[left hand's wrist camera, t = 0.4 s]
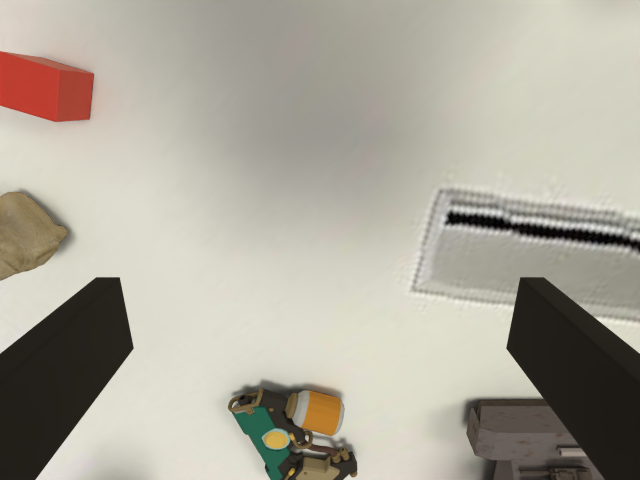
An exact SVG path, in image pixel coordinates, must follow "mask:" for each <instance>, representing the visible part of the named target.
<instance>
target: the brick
mask: <svg viewBox="0 0 640 480" xmlns="http://www.w3.org/2000/svg"><path fill="white" fill-rule="evenodd" d="M93 75H94V74H93V73H90V72H86V71H83V70H80V69H77V68H73V67H70V66H67V65H64V64H61V63H57V62H54V61H51V60H48V59H44V58H40V57H34V56H27V55H21V54H14V53H8V52H1V51H0V106H3V107H7V108H10V109H14V110H17V111H20V112H24V113H27V114H30V115H34V116H37V117H41V118H44V119H47V120H51V121H54V122H62V121H74V120H86V119H89V118H90V107H91V97H92V86H93Z"/></svg>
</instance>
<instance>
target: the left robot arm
mask: <svg viewBox="0 0 640 480" xmlns="http://www.w3.org/2000/svg"><path fill="white" fill-rule="evenodd" d="M133 349H134V348H133V343H132V338H131V332H130V327H129V322H128V317H127V312H126V307H125V302H124V297H123V292H122V287H121V282H120V277H96V278H95V279H94V280H92V281H91V282H90V283H89V284H87V285H86V286H85V287H84V288H82V289H81V290H80V291H79V292H77V293H76V294H75V295H74V296H72V297H71V298H70V299H69V300H67V301H66V302H65V303H63V304H62V305H61V306H60V307H58V308H57V309H56V310H55V311H53V312H52V313H51V314H50V315H48V316H47V317H46V318H45V319H43V320H42V321H41V322H40V323H38V324H37V325H36V326H35V327H33V328H32V329H31V330H30V331H28V332H27V333H26V334H25V335H23V336H22V337H21V338H19V339H18V340H17V341H16V342H14V343H13V344H12V345H11V346H9V347H8V348H7V349H6V350H4V351H3V352H2V353H1V354H0V480H35V479H36V478H37V477H38V475H39V474H40V473H41V471H42V470H43V469H44V467H45V466H46V465H47V463H48V462H49V461H50V459H51V458H52V457H53V455H54V454H55V453H56V451H57V450H58V449H59V447H60V446H61V445H62V443H63V442H64V441H65V439H66V438H67V437H68V435H69V434H70V433H71V431H72V430H73V429H74V427H75V426H76V425H77V423H78V422H79V421H80V419H81V418H82V417H83V415H84V414H85V413H86V411H87V410H88V409H89V407H90V406H91V405H92V403H93V402H94V401H95V399H96V398H97V397H98V395H99V394H100V393H101V391H102V390H103V389H104V387H105V386H106V385H107V383H108V382H109V381H110V379H111V378H112V377H113V375H114V374H115V373H116V371H117V370H118V369H119V367H120V366H121V365H122V363H123V362H124V361H125V359H126V358H127V357H128V355H129V354H130V353H131V351H132V350H133ZM506 349H507V350H508V351H509V353H510V354H511V355H512V357H513V358H514V359H515V361H516V362H517V363H518V365H519V366H520V367H521V369H522V370H523V371H524V373H525V374H526V375H527V377H528V378H529V379H530V381H531V382H532V383H533V385H534V386H535V387H536V389H537V390H538V391H539V393H540V394H541V395H542V397H543V398H544V399H545V401H546V402H547V403H548V405H549V406H550V407H551V409H552V410H553V411H554V413H555V414H556V415H557V417H558V418H559V419H560V421H561V422H562V423H563V425H564V426H565V427H566V429H567V430H568V431H569V433H570V434H571V435H572V437H573V438H574V439H575V441H576V442H577V443H578V445H579V446H580V447H581V449H582V450H583V451H584V453H585V454H586V455H587V457H588V458H589V459H590V461H591V462H592V463H593V465H594V466H595V467H596V469H597V470H598V471H599V473H600V474H601V475H602V477H603V478H604V479H605V480H640V354H639V353H638V352H637V351H636V350H634V349H633V348H632V347H631V346H629V345H628V344H627V343H626V342H624V341H623V340H622V339H621V338H619V337H618V336H617V335H615V334H614V333H613V332H612V331H610V330H609V329H608V328H607V327H605V326H604V325H603V324H602V323H600V322H599V321H598V320H597V319H595V318H594V317H593V316H592V315H590V314H589V313H588V312H587V311H585V310H584V309H583V308H582V307H580V306H579V305H578V304H577V303H575V302H574V301H573V300H571V299H570V298H569V297H568V296H566V295H565V294H564V293H563V292H561V291H560V290H559V289H558V288H556V287H555V286H554V285H553V284H551V283H550V282H549V281H548V280H546V279H545V278H544V277H520V282H519V287H518V292H517V297H516V302H515V307H514V312H513V317H512V322H511V327H510V332H509V338H508V343H507V348H506Z"/></svg>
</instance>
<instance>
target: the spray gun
mask: <svg viewBox="0 0 640 480" xmlns="http://www.w3.org/2000/svg"><path fill="white" fill-rule="evenodd" d="M257 395H258V396H257ZM254 396H257V397H256V398H254ZM237 400H238V403H237V404H236V405H235V406H234V407H233V408H232V404H233V403H234V402H235V401H237ZM228 409H229V411H231V412H232V413H233V415H234V417H235V419H236V420H237V422H238V424H239V425H240V427H241V429H242V431H243V432H244V433H245V434H246V435H249V437H250V439H251V440H252V442H253V444H254V445H255V447H256V449H257V450H258V452H259V453H260V455H261V456H262V458H263V460H264V462H265V463H266V464H265V469H266V472H267V474H268V476H269V477H270V479H271V480H343V479H344V478H345V477H346V476H347V475H348V474H350V476H351V477H355V476H356V475H357V461H356V459H355V457H354V455H353V453H352V452H348V451H347V449H346V448H345V447H342V448H341V449H340V451H339V452H337V450H334V449H333V448H331V447H327V446H318V445H314V444H312V440H313V435H312V432H311V431H315V432H318V433H322V434H326V435H329V436H333V435H335V434H336V433H337V432H338V431H339V430H340V428H341V425H342V422H343V417H344V404H343V403H342V401H341V399H340V398H337V397H333V396H329V395H325V394H321V393H317V392H313V391H309V390H303V391H302V392H300V393H299V394H297V393H292V395H291V396H290V397H289V398H287V397H285V396H282V395H279V394H276V393H273V392H270V391H267V390H263V389H262V388H259V390H258V392H254V393H250V394H246V395H241V396H238V397H235V398H233V399H231V400H230V402H229V405H228ZM285 411H286V412H285ZM302 428H304V429H307V430H308V431H303V429H302ZM309 430H311V431H309ZM305 435H309V442H307V441H306V440H305ZM297 442H300V443H301V444H298V443H297ZM294 445H295V446H296V447H297V448H299V449H306V448H307V449H310V450H312V451H317V452H326V453H330V456H329V457H328V458H327V459H326V460H321V459H315V458H309V457H304V456H303V453H302V452H300V453H298V454H296V453H293V452H291V451H290V448H291V447H293V446H294ZM303 457H304V458H303Z"/></svg>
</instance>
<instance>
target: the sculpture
mask: <svg viewBox="0 0 640 480" xmlns="http://www.w3.org/2000/svg"><path fill="white" fill-rule="evenodd" d="M66 235H67V230H66V229H65V228H64V227H63V226H61V225H59V226H57V225H55V224H54V223H53V221H52V220H51V218H50V217H49V216H48V215H47V214H46V212H45V211H44V210H43V209H42V208H41V207H40V206H39V205H38V204H37V203H35V202H34V201H33V200H32V199H30V198H29V197H27V196H26V195H24V194H22V193H18V192H8V193H6V194H4V195H2V196H1V197H0V281H1V280H3V279H6V278H8V277H10V276H12V275H14V274H17V273H21V272H24V271H29V270H32V269H34V268H37V267H38V266H40V265H43V264H45V263H46V262H47V261H48V260H49V259H50V258H51V257H52V256H53V254H54V253H55V252H56V250H57V249H58V246H59V242H61V241H62V240H63V239H64V238H65V236H66Z"/></svg>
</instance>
